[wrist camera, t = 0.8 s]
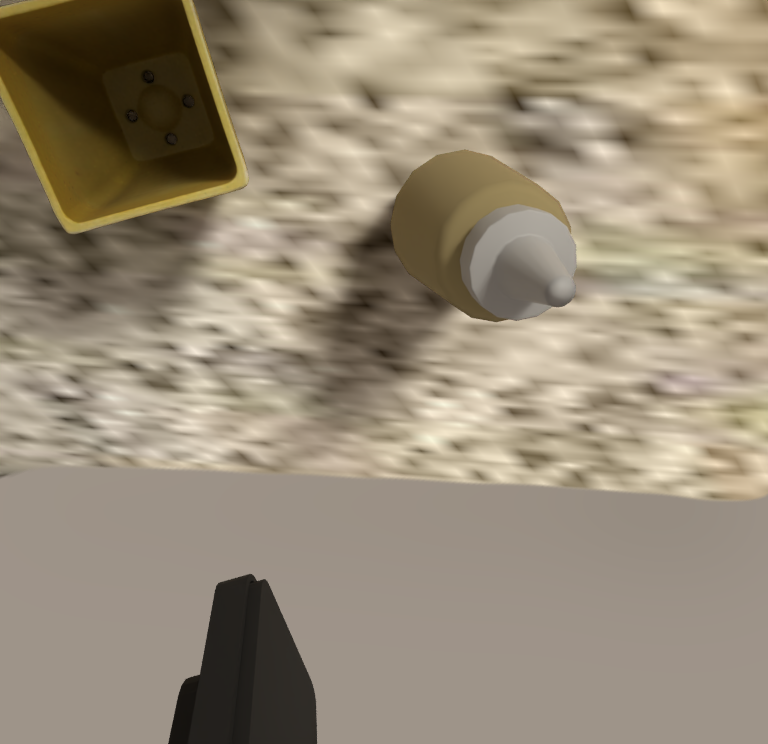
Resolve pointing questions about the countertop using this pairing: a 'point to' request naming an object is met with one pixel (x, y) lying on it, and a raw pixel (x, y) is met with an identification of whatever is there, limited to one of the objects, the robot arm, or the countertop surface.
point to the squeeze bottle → (484, 237)
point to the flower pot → (117, 107)
